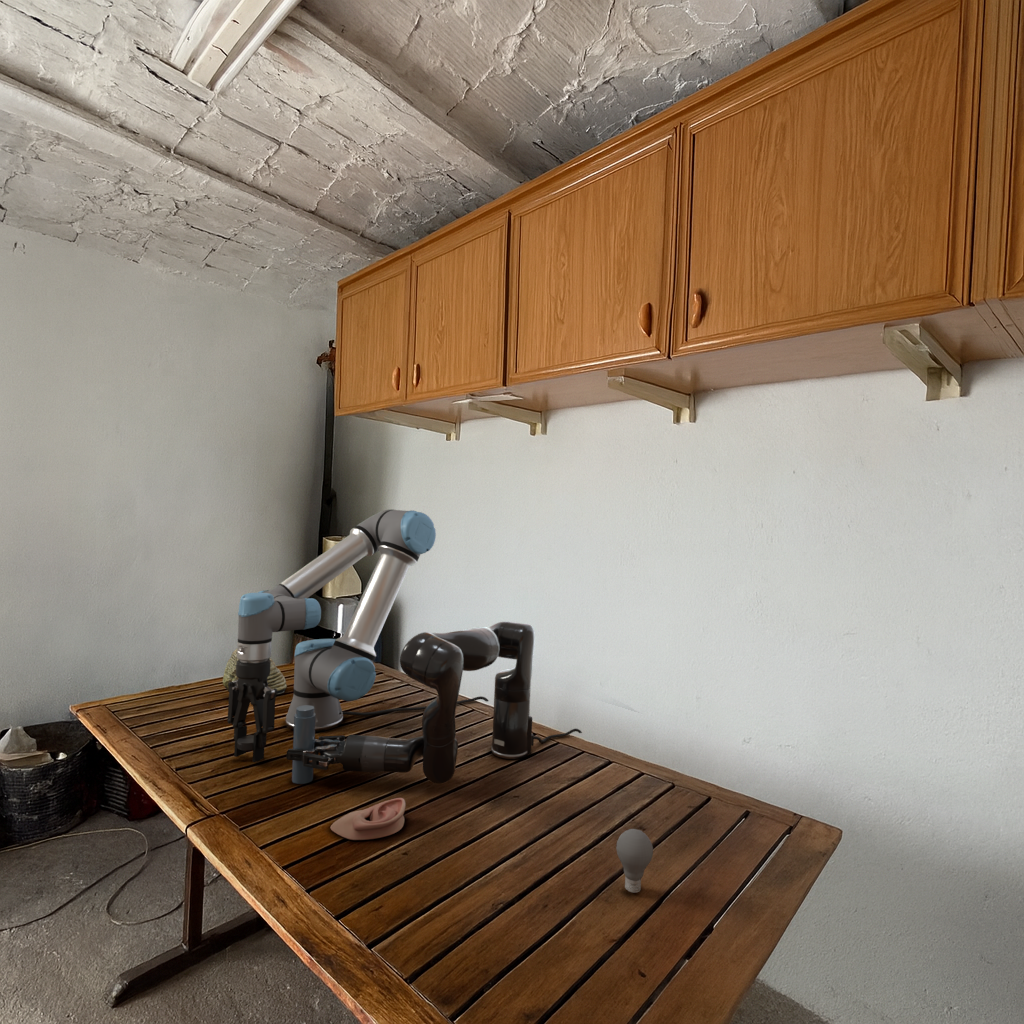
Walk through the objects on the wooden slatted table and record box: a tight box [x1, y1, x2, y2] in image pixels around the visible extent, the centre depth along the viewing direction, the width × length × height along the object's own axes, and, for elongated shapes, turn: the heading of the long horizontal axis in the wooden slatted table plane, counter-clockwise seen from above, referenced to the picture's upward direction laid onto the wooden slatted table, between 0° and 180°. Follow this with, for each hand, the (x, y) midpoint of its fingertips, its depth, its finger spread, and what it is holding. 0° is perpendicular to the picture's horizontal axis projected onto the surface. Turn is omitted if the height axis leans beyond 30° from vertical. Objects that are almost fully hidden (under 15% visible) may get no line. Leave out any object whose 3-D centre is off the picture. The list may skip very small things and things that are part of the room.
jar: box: [291, 705, 316, 785], centre depth 141 cm, size 5×5×16 cm
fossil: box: [222, 648, 288, 695], centre depth 198 cm, size 9×18×15 cm, turn 132°
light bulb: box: [615, 828, 654, 894], centre depth 106 cm, size 6×6×10 cm
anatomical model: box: [330, 797, 407, 841], centre depth 123 cm, size 13×4×12 cm
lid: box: [237, 734, 254, 752], centre depth 149 cm, size 5×5×2 cm
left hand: (249, 757), depth 149 cm, fingers closed on lid, 5 cm apart
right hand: (291, 749), depth 141 cm, fingers closed on jar, 4 cm apart
